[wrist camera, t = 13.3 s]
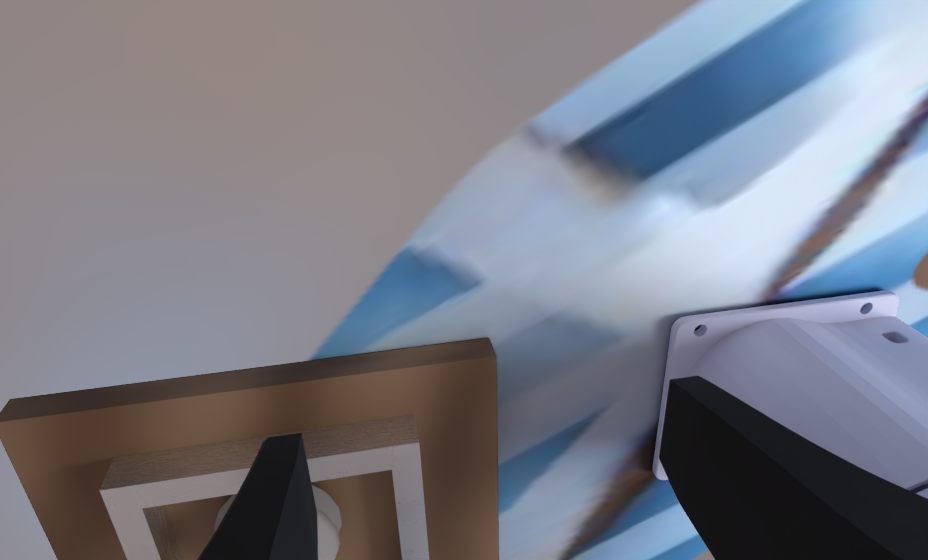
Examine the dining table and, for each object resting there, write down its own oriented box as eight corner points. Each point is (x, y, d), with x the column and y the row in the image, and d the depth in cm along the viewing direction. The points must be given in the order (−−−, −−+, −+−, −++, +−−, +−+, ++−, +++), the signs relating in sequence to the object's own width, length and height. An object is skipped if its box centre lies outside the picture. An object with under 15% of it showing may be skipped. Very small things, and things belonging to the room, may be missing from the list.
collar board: (488, 337, 23) (506, 381, 21) (493, 593, 30) (507, 648, 27) (9, 399, 21) (-32, 456, 18) (128, 661, 27) (108, 728, 25)
